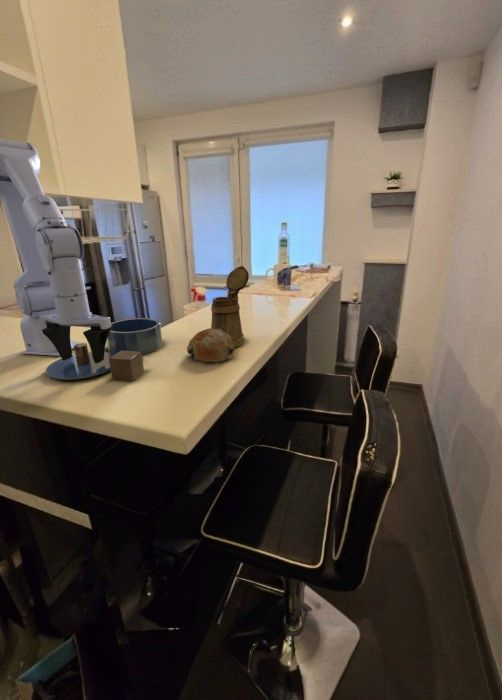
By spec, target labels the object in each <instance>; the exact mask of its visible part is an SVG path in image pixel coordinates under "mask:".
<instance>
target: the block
mask: <svg viewBox="0 0 502 700" xmlns="http://www.w3.org/2000/svg"><path fill="white" fill-rule="evenodd" d="M109 363H110V369H111V370H110V374H111V380H112V381H127V382H134V381H135V380H137V378H139V377H141V375H142V374H143V373H145V368H144V359H143V354H142V353H141V352H138V351H120V352H118V353H117V354H115V355H113V356H112V357H110V358H109Z"/></svg>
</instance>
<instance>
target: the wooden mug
mask: <svg viewBox="0 0 502 700" xmlns="http://www.w3.org/2000/svg"><path fill="white" fill-rule="evenodd" d="M249 278H250V275H249V271H248V270H247V268H246V267H245V266H243V265H241V266H238V267H236V268H234V269H233V270H232V271H230V272H229V273H228V276H227V277H226V282H225V283H226V287H227V289H228V294H227V296H216V297H213V298H212V303H211V306H210V307H211V309H210V310H211V322H210V323H211V325H210V328H214V329H221V330H222V331H224V332H226V333H227V334H229V336H230V337H231V338H232V340H233V343H234V348H235V347H240V346H242V345H244V343H245V335H244V333H243V328H242V320H241V313H240V309H241V307H240V303H239V293H240V291H242V290H243V289H244V288H245V287H246V286H247V284H248V281H249Z"/></svg>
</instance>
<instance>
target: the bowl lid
mask: <svg viewBox="0 0 502 700" xmlns="http://www.w3.org/2000/svg"><path fill="white" fill-rule="evenodd" d="M80 343H81V344H76V345H74V349H73V351H74V354H72V357H71V358H69V359H67V360H62V358H59V359H57V360H55V361H53V362H51V363H50V364H48V366H46V368H45V373H46V375H47V376H48V377H49V378H52V379H55V380H63V381H67V380H68V381H70V380H81V379H88V378H92V377H96V376H98V375H101V374H104V373H107V372H109V371H111V369H110V363H109V358H110V357H112V356H113V355H115V354H113V353H110V352H109V351H108V352H107V351H105V352H104V360H103V361H101V362H99V363H95V362H94V360H93V356H92V352H91V351H89V350H88V344H87V343H85V342H80Z"/></svg>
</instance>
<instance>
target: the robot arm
mask: <svg viewBox="0 0 502 700" xmlns="http://www.w3.org/2000/svg"><path fill="white" fill-rule="evenodd" d="M40 172H41V161H40V156H39V153H38V150H37V149H36V147H35V146H34V145H33V143H31V142H21V141H15V140H8V139H1V138H0V201H1V204H2V206H3V209H4V213H5V215H6V219H7V221H8V225H9V227H10V231H11V234H12V237H13V240H14V243H15V247H16V249H17V253H18V256H19V259H20V262H21V265H22V268H23V272H22V273H21V274H20V275H19V276H18V277H17V278H16V279H15V280H14V281H13V282H14V283H13V288H14V292H15V300H16V303H17V306H18V309H19V310H20V312H21V313H22V314H23V316H22V318H21V319H20V324H19V326H20V331H21V335H22V339H23V343H24V346H25V350H24V351H23V354H25V355H38V356H39V355H41V356H54V357H55V356H56V357H60V359H62V360H67V359H69V358H71V357H72V355H73V350H74V345H76V344H81V343H82V342H74V341H73V339H72V335H71V334H72V333H71V328H72V327H75V328H76V327H78V328H79V327H80V328H90V329H86V330H85V331H83V332H82V333H83V337H85V339H86V341H87V343H88V345H89V348H90V352H92V356H93V360H94V362H95V363H99V362H101V361H103V360H104V352H106V346H107V342H106V341H107V338H108V335H109V333H110V331H111V323H112V322H111V317H109V316H102V315H99V314H98V315H97V314H93V312H92V311H90V306H89V305H90V304H89V300H88V294H87V289H86V283H85V279H84V273H83V269H82V267H83V266H82V263H81V260H82V259H83V258H84V254H85V248H84V247H85V246H84V243H83V239H82V236H81V234H80V231H79V229H78V228H77V227H75V226H72V224H71V223H68V222H67V221H66V219H65V217H64V215H63V214H62V212H61V210H60V208H59V207H58V205H57V203H56V201H55V200H54V199H53V198H52V197H50V196H49V195H46V194H45V192H44V189H43V187H42V184H41V181H40V179H39V176H40Z"/></svg>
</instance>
